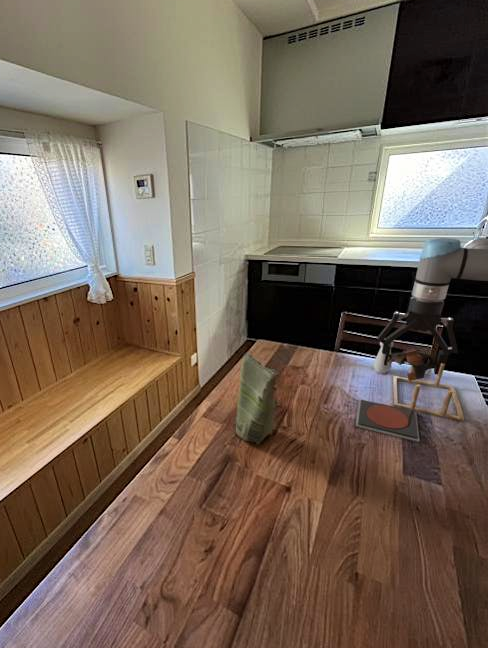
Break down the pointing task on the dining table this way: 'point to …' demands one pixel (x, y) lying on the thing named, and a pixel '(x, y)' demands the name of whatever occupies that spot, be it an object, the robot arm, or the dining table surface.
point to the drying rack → (436, 384)
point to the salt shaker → (382, 361)
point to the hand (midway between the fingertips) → (409, 367)
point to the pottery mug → (414, 362)
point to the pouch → (255, 400)
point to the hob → (388, 420)
